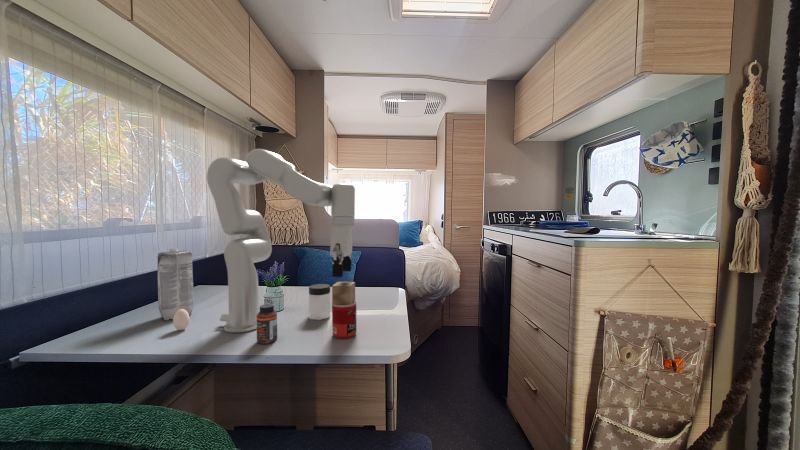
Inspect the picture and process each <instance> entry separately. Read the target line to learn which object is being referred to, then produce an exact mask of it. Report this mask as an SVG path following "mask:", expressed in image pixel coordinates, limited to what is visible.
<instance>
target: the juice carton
mask: <svg viewBox="0 0 800 450" xmlns="http://www.w3.org/2000/svg"><path fill="white" fill-rule="evenodd" d="M168 249H169V250H168V252H167V251H164V252H161V251H160V252H159V253H158V254H157V264H156V265H157V266H156V267H157V294H158V295H157V296H158V297H157V300H158V309H159V313H160V317H161V318H162V317H163V318H164V319H163V318H162V319H163V320H164V321H165V320H167V321H170V320H169V319H172V320H173V318H174V315H175V313H176V312H177V311H178V310H179V309H184V310H186V311H187V312H188V314H189V315H191V316H192V314H193V309H194V277H193V275H194V273H193V255H192V252H190V251H188V250H180V251H179V247H178V248H168Z"/></svg>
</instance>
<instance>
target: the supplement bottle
mask: <svg viewBox="0 0 800 450" xmlns="http://www.w3.org/2000/svg"><path fill="white" fill-rule="evenodd" d="M274 307H275V306H274V304H273V303H265V304H261V305H259V313H258V314H257V329H256V342H257V343H258V344H260V345H268V344H272V343H274V342H276V341H277V339H278V312H277V311H276V310H275V308H274Z"/></svg>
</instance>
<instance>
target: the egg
mask: <svg viewBox="0 0 800 450" xmlns="http://www.w3.org/2000/svg"><path fill="white" fill-rule="evenodd" d="M190 320H191V318H190V316H189V314H188V312H187V311H186V310H184V309H179V310H178V311H177V312H176V313H175V315H174V318H173V319H172V323H173V327H174V328H175V329H176V331H177V330H178V331H184V330H186V328H187V327H188V326H189V324H190Z"/></svg>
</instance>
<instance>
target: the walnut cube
mask: <svg viewBox="0 0 800 450" xmlns="http://www.w3.org/2000/svg"><path fill="white" fill-rule="evenodd" d="M331 293H332V295H331V296H332V297H331V301H332V303H331V305H332V304H340V305H351V304H352V303H353V302H354V300H355V301H356V282H355V281H336V283H334V284H332V286H331Z"/></svg>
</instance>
